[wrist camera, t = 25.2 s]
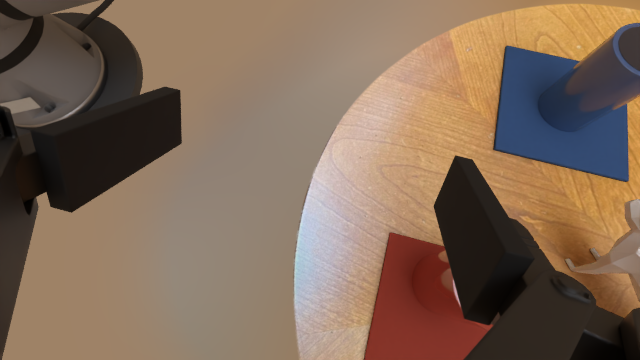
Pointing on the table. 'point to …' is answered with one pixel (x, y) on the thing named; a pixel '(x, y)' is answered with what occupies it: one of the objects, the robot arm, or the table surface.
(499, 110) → the blue mat
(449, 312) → the red tumbler
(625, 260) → the cat figurine
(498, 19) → the table surface
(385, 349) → the red mat
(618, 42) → the blue tumbler
